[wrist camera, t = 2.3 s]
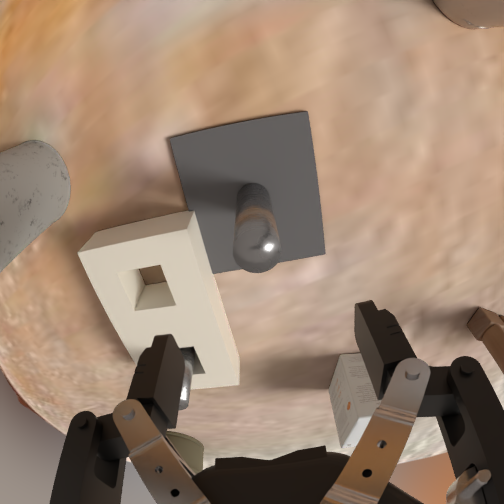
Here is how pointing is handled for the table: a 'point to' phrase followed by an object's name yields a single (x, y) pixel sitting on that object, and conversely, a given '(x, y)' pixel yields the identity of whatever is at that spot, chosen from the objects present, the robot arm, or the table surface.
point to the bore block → (164, 293)
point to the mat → (252, 171)
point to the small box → (352, 398)
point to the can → (188, 449)
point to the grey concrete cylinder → (29, 195)
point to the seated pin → (187, 375)
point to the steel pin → (255, 230)
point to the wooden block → (489, 333)
